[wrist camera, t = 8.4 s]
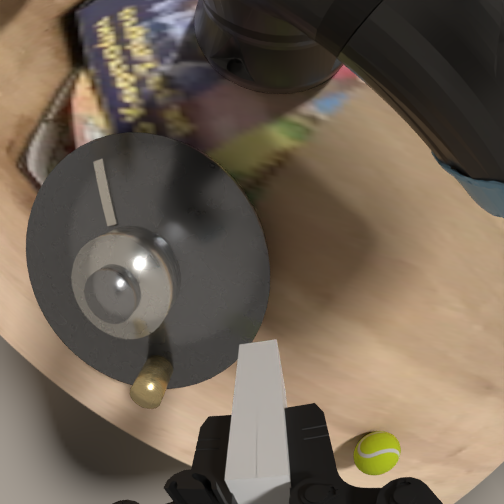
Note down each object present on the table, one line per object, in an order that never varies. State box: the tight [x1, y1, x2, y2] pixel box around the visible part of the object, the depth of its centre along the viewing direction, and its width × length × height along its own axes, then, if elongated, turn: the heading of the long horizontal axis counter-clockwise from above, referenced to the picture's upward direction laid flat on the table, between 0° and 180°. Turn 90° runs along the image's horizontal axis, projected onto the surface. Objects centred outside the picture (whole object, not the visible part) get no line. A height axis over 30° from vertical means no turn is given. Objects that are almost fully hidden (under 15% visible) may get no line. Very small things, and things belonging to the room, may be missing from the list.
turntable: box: [26, 132, 270, 409], centre depth 26 cm, size 26×26×7 cm
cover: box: [71, 226, 181, 339], centre depth 25 cm, size 9×9×6 cm
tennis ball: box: [354, 431, 401, 475], centre depth 34 cm, size 7×7×7 cm
